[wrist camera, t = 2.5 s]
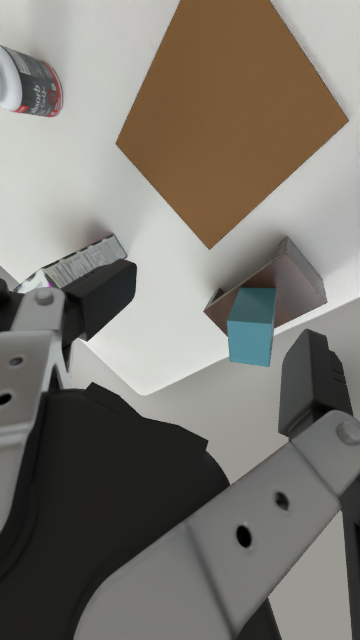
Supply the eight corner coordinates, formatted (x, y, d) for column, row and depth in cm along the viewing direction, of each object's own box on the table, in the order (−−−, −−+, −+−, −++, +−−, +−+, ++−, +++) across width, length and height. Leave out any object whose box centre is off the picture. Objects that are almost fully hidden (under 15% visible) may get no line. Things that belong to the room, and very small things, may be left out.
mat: (348, 120, 23) (349, 120, 23) (209, 249, 36) (209, 250, 36) (218, -77, 20) (216, -80, 19) (116, 143, 33) (115, 143, 32)
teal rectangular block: (276, 288, 29) (271, 323, 23) (274, 326, 32) (269, 367, 26) (240, 287, 30) (226, 320, 24) (241, 324, 34) (229, 361, 28)
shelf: (287, 236, 31) (286, 252, 26) (322, 279, 32) (327, 302, 27) (214, 291, 40) (203, 311, 35) (244, 323, 41) (237, 346, 36)
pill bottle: (55, 128, 35) (-10, 121, 27) (26, 90, 33) (-51, 73, 26) (70, 91, 31) (0, 72, 24) (38, 47, 30) (-47, 12, 22)
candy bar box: (95, 277, 49) (29, 318, 37) (81, 256, 47) (6, 292, 35) (130, 257, 43) (63, 299, 31) (114, 232, 41) (37, 266, 29)
